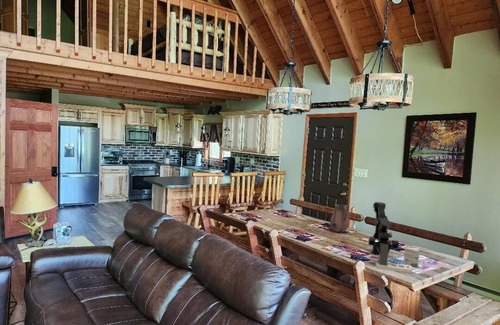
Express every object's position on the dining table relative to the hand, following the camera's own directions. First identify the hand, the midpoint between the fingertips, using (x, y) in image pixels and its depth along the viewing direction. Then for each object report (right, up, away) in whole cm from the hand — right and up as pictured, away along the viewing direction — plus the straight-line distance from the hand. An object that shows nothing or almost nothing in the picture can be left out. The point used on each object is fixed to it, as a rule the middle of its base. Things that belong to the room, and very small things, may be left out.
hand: (383, 254), depth 222 cm
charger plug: (0, -7, +2) cm, 7 cm away
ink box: (+23, -11, +11) cm, 28 cm away
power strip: (+6, -10, 0) cm, 12 cm away
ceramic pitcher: (-4, -5, +95) cm, 95 cm away
